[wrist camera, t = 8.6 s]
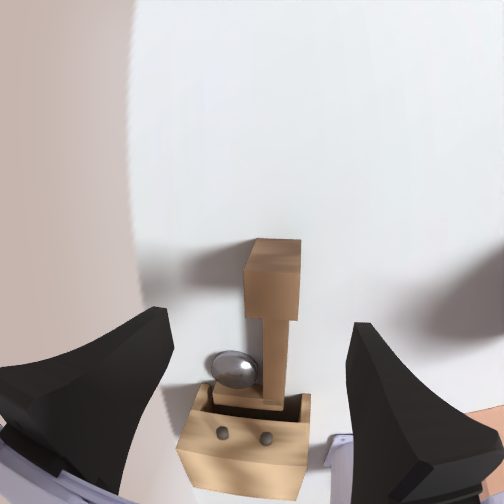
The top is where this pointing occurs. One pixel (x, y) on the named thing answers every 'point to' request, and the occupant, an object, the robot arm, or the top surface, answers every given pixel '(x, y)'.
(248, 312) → the wooden mallet
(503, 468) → the utensil crock
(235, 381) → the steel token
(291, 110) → the top surface
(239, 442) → the bread box
